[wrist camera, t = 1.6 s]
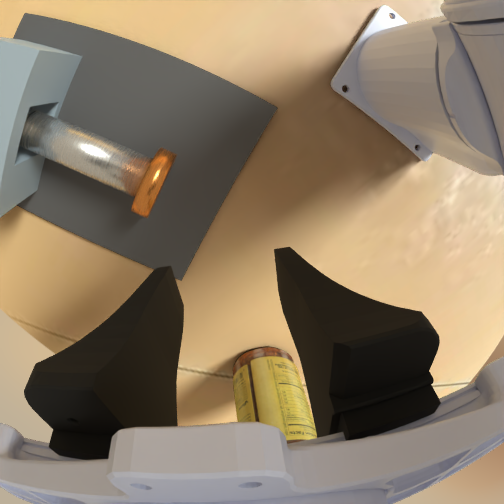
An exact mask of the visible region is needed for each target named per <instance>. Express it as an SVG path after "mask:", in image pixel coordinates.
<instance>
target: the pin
mask: <svg viewBox="0 0 504 504" xmlns="http://www.w3.org/2000/svg"><path fill="white" fill-rule="evenodd" d="M19 146H21V147H23V148H26V149H28V150H30V151H32V152H35V153H37V154H39V155H41V156H43V157H46V158H48V159H50V160H52V161H55V162H57V163H59V164H61V165H64V166H66V167H68V168H70V169H72V170H75V171H77V172H79V173H81V174H84V175H86V176H88V177H90V178H93V179H95V180H97V181H99V182H101V183H104V184H106V185H108V186H110V187H113V188H115V189H117V190H119V191H122V192H124V193H126V194H128V195H130V196H133V197H135V198H134V201H133V204H132V208H131V211H132V212H134V213H136V214H138V215H140V216H143V217H145V218H148V216H149V215H150V213H151V211H152V209H153V206H154V204H155V202H156V200H157V198H158V196H159V194H160V192H161V190H162V187H163V185H164V183H165V181H166V179H167V177H168V175H169V172H170V170H171V168H172V166H173V164H174V162H175V159H176V157H177V154H175V153H173V152H171V151H168V150H166V149H164V148H162V147H161V148H160V149H159V150H158V152H157V153H156V155H155V156H154V158H153V159H152V158H150V157H147V156H145V155H143V154H141V153H138V152H136V151H134V150H132V149H129V148H127V147H125V146H122V145H120V144H118V143H115V142H113V141H111V140H108V139H106V138H104V137H101V136H99V135H97V134H94V133H92V132H90V131H87V130H85V129H82V128H80V127H78V126H75V125H73V124H70V123H68V122H65V121H63V120H60V119H58V118H55V117H53V116H50V115H48V114H45V113H43V112H40V111H38V110H35V109H32V108H29V111H28V114H27V118H26V121H25V124H24V128H23V132H22V135H21V139H20V143H19Z"/></svg>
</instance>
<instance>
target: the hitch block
mask: <svg viewBox="0 0 504 504" xmlns="http://www.w3.org/2000/svg"><path fill="white" fill-rule="evenodd" d="M81 59H82V56H79V55H76V54H72V53H69V52H66V51H62V50H59V49H56V48H52V47H48V46H45V45H41V44H37V43H33V42H29V41H25V40H20V39H12V38H2V37H0V218H1V217H2V216H3V215H4V214H6V213H7V212H8V211H10V210H11V209H12V208H14V207H15V206H16V205H18V204H19V203H20V202H22V201H23V200H24V199H26V198H27V197H29V196H30V195H31V194H33V193H34V192H36V191H37V190H38V185H39V181H40V176H41V172H42V168H43V164H44V161H45V157H43V156H41V155H39V154H37V153H35V152H32V151H30V150H28V149H26V148H23V147H21V146H19V143H20V139H21V135H22V132H23V128H24V124H25V121H26V118H27V114H28V111H29V108H32V109H35V110H38V111H40V112H43V113H45V114H48V115H50V116H53V117H55V118H58V115H59V112H60V109H61V107H62V104H63V101H64V99H65V96H66V94H67V91H68V88H69V86H70V84H71V81H72V79H73V76H74V74H75V72H76V70H77V67H78V65H79V63H80V61H81Z"/></svg>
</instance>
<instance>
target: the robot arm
mask: <svg viewBox="0 0 504 504" xmlns="http://www.w3.org/2000/svg"><path fill="white" fill-rule="evenodd" d="M441 11H442V12H443V14H444V15H445V16H440V17H435V18H430V19H425V20H420V21H416V22H411V23H407V22H406V21H405V20H404V19H403V18H402V17H400V16H399V15H398V14H397V13H396V12H395V11H393V10H392V9H391V8H390V7H388V6H386V5H382V6H380V7H379V8H378V9H377V11H376V12H375V14H374V15H373V17H372V18H371V20H370V21H369V23H368V24H367V26H366V27H365V29H364V30H363V32H362V34H361V35H360V37H359V38H358V40H357V41H356V43H355V44H354V46H353V47H352V49H351V50H350V52H349V54H348V55H347V57H346V58H345V60H344V61H343V63H342V64H341V66H340V68H339V69H338V71H337V72H336V74H335V75H334V77H333V79H332V80H331V88H332V89H333V90H334V91H335V92H337V93H338V94H340V95H341V96H343V97H344V98H345V99H347V100H348V101H350V102H351V103H352V104H354V105H355V106H356V107H358V108H359V109H360V110H362V111H363V112H364V113H366V114H367V115H368V116H370V117H371V118H372V119H374V120H375V121H376V122H377V123H379V124H380V125H381V126H382V127H384V128H385V129H386V130H387V131H388V132H390V133H391V134H392V135H393V136H394V137H396V138H397V139H398V140H399V141H400V142H401V143H403V144H404V145H405V146H406V147H407V148H408V149H409V150H410V151H412V152H413V153H414V154H415V155H416V156H417V157H418V158H419V159H421V160H422V161H428V160H429V158H430V157H431V155H432V153H435V154H438V155H440V156H442V157H445V158H447V159H449V160H452V161H454V162H456V163H458V164H460V165H463V166H465V167H467V168H469V169H471V170H473V171H475V172H477V173H479V174H482V175H486V176H497V175H504V0H444V3H443V4H442V5H441ZM389 14H391V15H392V17H393V18H392V19H391V18H390V17H389ZM344 85H345V86H346V87H347V91H346V92H343V91H342V87H343V86H344ZM416 145H418V147H417V149H416V150H415V146H416ZM274 253H275V262H276V272H277V282H278V292H279V296H280V301H281V305H282V309H283V313H284V316H285V318H286V321H287V324H288V327H289V329H290V332H291V335H292V338H293V340H294V343H295V346H296V349H297V351H298V354H299V357H300V361H301V364H302V369H303V373H304V377H305V381H306V386H307V390H308V395H309V399H310V404H311V409H312V413H313V418H314V423H315V428H316V434H317V438H314V439H310V440H305V441H300V442H295V443H289V444H287V441H286V436H285V435H284V434H283V433H282V432H281V431H280V429H279V428H277V427H275V426H272V425H268V424H264V423H260V422H230V423H220V424H209V425H194V426H177V403H176V379H177V368H178V361H179V354H180V347H181V340H182V333H183V322H184V305H183V302H182V299H181V296H180V293H179V290H178V287H177V283H176V280H175V277H174V274H173V270H172V267H171V266H165V267H159V268H156V269H155V270H154V271H153V272H152V273H151V274H150V275H149V276H148V278H147V279H146V280H145V281H144V282H143V283H142V284H141V285H140V287H139V288H138V289H137V290H136V291H135V292H134V293H133V294H132V295H131V297H130V298H129V299H128V300H127V301H126V302H125V303H124V304H123V305H122V306H121V307H120V308H119V309H118V310H117V311H116V312H115V313H114V314H113V315H112V316H110V317H109V318H108V319H107V320H106V321H105V322H103V323H102V324H101V325H100V326H99V327H97V328H96V329H95V330H93V331H92V332H90V333H89V334H88V335H86V336H85V337H84V338H82V339H81V340H79V341H78V342H76V343H75V344H73V345H71V346H70V347H68V348H66V349H64V350H63V351H61V352H59V353H57V354H55V355H53V356H51V357H49V358H47V359H45V360H43V361H41V362H38V363H36V364H35V367H34V369H33V371H32V373H31V376H30V378H29V380H28V383H27V385H26V387H25V390H24V395H25V398H26V400H27V402H28V404H29V405H30V406H31V407H32V409H33V410H34V411H35V412H36V413H37V414H38V415H39V416H40V417H41V418H42V419H43V420H44V421H45V422H46V423H47V424H48V425H49V426H50V427H51V428H53V432H52V436H51V440H50V443H45V442H40V441H36V440H32V439H27V438H24V437H23V436H22V435H21V434H20V433H19V432H18V431H17V430H16V429H14V428H13V427H11V426H9V425H6V424H2V423H0V487H1V488H3V489H4V490H6V491H8V492H9V493H11V494H13V495H14V496H16V497H18V498H20V499H23V500H25V501H28V502H31V503H33V504H393V503H396V502H398V501H400V500H403V499H405V498H407V497H410V496H411V495H414V494H416V493H418V492H420V491H422V490H424V489H426V488H428V487H430V486H432V485H434V484H436V483H438V482H440V481H442V480H444V479H446V478H447V477H449V476H451V475H453V474H454V473H456V472H458V471H460V470H461V469H463V468H465V467H466V466H468V465H470V464H471V463H473V462H474V461H476V460H477V459H479V458H481V457H482V456H484V455H485V454H487V453H488V452H490V451H491V450H493V449H494V448H496V447H497V446H499V445H500V444H502V443H503V442H504V356H503V357H501V358H499V359H497V360H495V361H493V362H492V363H490V364H488V365H487V366H485V367H484V368H483V369H482V370H481V371H480V372H479V374H478V376H477V378H476V379H475V382H474V383H472V384H470V385H468V386H466V387H464V388H462V389H460V390H457V391H455V392H453V393H451V394H449V395H447V396H444V397H442V398H440V399H439V398H438V396H437V394H436V393H435V391H434V389H433V387H432V385H431V384H432V383H433V377H432V375H431V374H430V372H429V370H430V367H431V365H432V363H433V360H434V358H435V356H436V353H437V351H438V347H439V343H440V341H439V335H438V334H437V332H436V331H435V329H434V328H433V326H432V325H431V323H430V322H429V320H428V319H427V318H426V317H425V316H424V314H423V313H422V312H420V311H415V310H410V309H405V308H400V307H396V306H392V305H388V304H385V303H382V302H379V301H376V300H373V299H370V298H368V297H365V296H363V295H360V294H358V293H356V292H353V291H351V290H349V289H347V288H346V287H344V286H342V285H340V284H338V283H336V282H335V281H333V280H331V279H330V278H328V277H327V276H325V275H324V274H322V273H321V272H319V271H318V270H317V269H316V268H314V267H313V266H312V265H310V264H309V263H308V262H307V261H305V260H304V259H303V258H302V257H301V256H300V255H298V254H297V253H296V252H295V251H294V250H293V249H292V248H290V247H286V248H279V249H274Z"/></svg>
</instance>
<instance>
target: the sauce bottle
mask: <svg viewBox="0 0 504 504" xmlns="http://www.w3.org/2000/svg"><path fill="white" fill-rule="evenodd" d="M233 375H234V378H233V387H234V396H235V404H236V412H237V420H238V422H260V423H264V424H268V425H272V426H275V427H277V428H279V429H280V431H281V432H282V433H283V434H284V435H285V436H286V441H287V444H289V443H295V442H300V441H305V440H310V439H314V438H317V434H316V428H315V425H314V421H313V418H312V414H311V411H310V408H309V405H308V402H307V399H306V395H305V392H304V389H303V386H302V383H301V379H300V376H299V373H298V370H297V367H296V366H295V364H294V363H293V359H292V357H291V356H290V355H289V354H288V353H286V352H285V351H283V350H280V349H278V348H273V347H269V346H268V347H263V348H258V349H255V350H251V351H248V352H246V353H244V354H243V355H242V356H240V357H239V358H238V360H237V361H236V363H235V365H234V367H233Z"/></svg>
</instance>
